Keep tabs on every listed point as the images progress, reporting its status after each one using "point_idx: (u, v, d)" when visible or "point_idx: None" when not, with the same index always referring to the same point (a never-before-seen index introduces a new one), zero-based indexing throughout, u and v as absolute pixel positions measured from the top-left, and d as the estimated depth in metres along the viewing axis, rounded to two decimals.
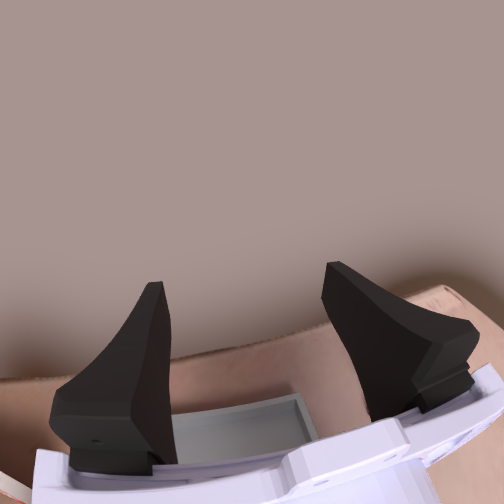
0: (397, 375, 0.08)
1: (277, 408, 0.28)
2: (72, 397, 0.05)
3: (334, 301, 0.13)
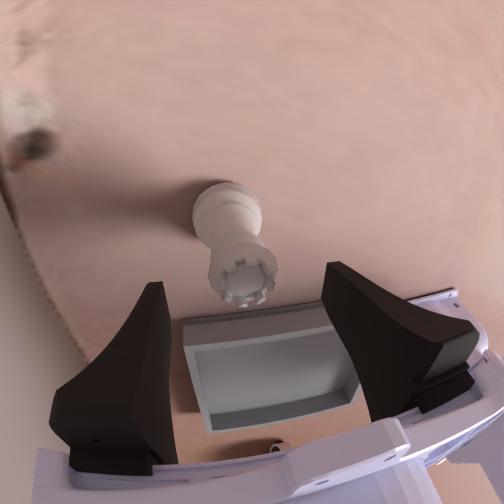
0: (397, 375, 0.08)
1: (195, 355, 0.24)
2: (72, 397, 0.05)
3: (334, 301, 0.13)
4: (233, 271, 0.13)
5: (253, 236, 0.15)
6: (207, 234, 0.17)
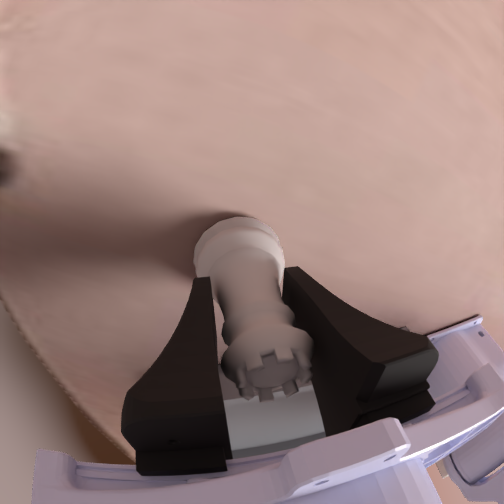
0: (343, 392, 0.08)
1: None
2: (151, 397, 0.06)
3: (291, 308, 0.12)
4: (258, 369, 0.09)
5: (281, 305, 0.11)
6: (215, 291, 0.13)
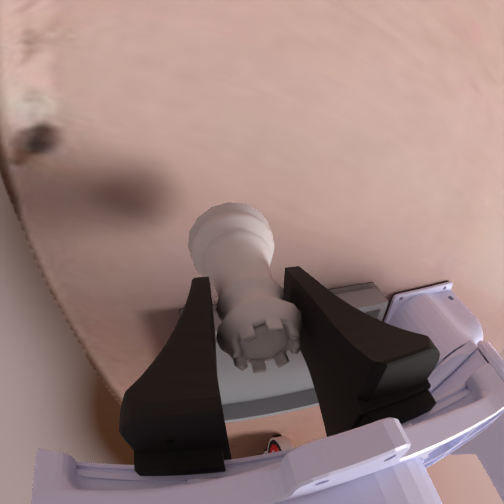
0: (345, 392, 0.08)
1: None
2: (149, 397, 0.06)
3: None
4: (250, 338, 0.10)
5: (271, 282, 0.12)
6: (209, 271, 0.14)
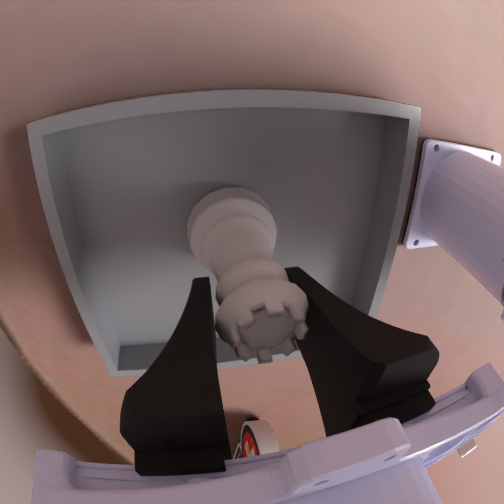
0: (344, 392, 0.08)
1: (58, 169, 0.12)
2: (150, 397, 0.06)
3: None
4: (249, 324, 0.09)
5: (271, 263, 0.11)
6: (208, 260, 0.13)
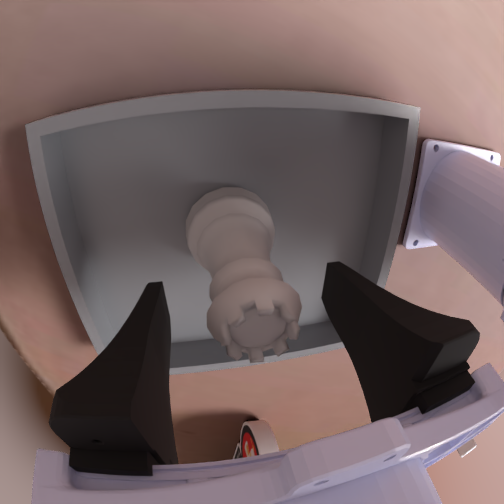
0: (397, 375, 0.08)
1: (57, 170, 0.12)
2: (72, 397, 0.05)
3: (334, 301, 0.13)
4: (239, 323, 0.09)
5: (264, 262, 0.11)
6: (205, 259, 0.13)
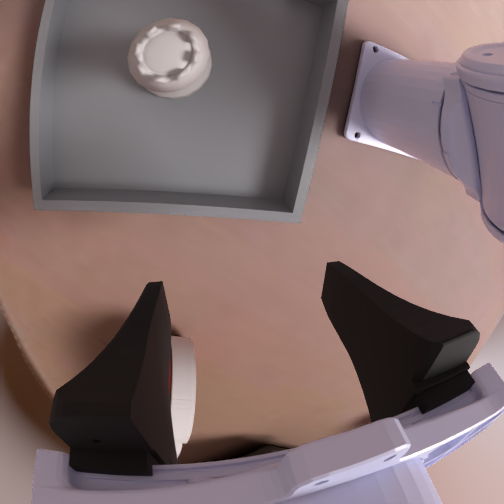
0: (397, 375, 0.08)
1: (61, 6, 0.11)
2: (72, 397, 0.05)
3: (334, 301, 0.13)
4: (151, 32, 0.08)
5: None
6: None
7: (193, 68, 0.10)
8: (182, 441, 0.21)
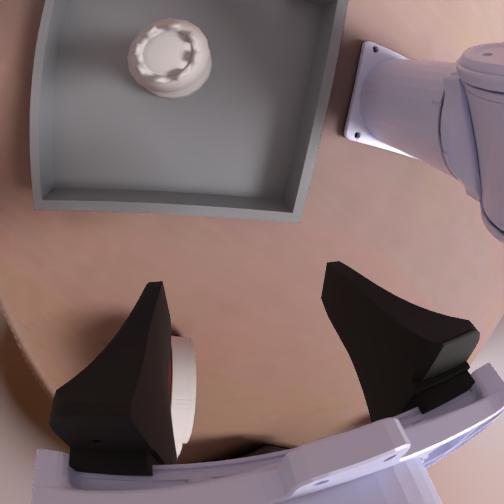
0: (397, 375, 0.08)
1: (61, 6, 0.11)
2: (72, 397, 0.05)
3: (334, 301, 0.13)
4: (151, 32, 0.08)
5: None
6: None
7: (193, 68, 0.10)
8: (182, 441, 0.21)
